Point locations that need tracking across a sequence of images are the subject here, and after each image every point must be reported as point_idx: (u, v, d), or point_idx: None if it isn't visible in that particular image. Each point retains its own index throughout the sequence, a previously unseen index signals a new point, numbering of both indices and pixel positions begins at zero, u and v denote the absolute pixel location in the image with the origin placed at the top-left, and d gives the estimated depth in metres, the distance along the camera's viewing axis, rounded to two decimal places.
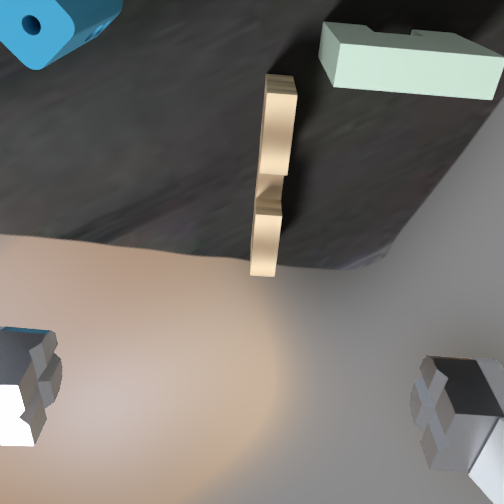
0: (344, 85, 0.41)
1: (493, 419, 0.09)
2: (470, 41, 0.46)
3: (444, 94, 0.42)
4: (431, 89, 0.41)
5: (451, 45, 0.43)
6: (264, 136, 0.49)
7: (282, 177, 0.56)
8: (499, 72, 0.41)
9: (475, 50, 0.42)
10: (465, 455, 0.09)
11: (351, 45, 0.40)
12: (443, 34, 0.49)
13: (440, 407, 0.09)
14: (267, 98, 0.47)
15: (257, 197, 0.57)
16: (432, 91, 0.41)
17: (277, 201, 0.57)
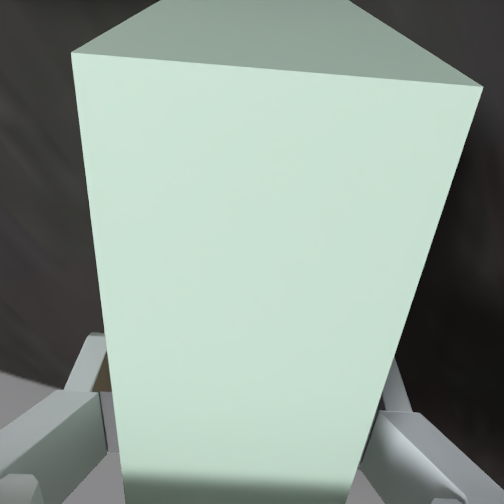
0: (104, 159, 0.04)
1: None
2: None
3: None
4: None
5: None
6: None
7: None
8: None
9: None
10: None
11: (442, 184, 0.05)
12: None
13: None
14: None
15: None
16: None
17: None
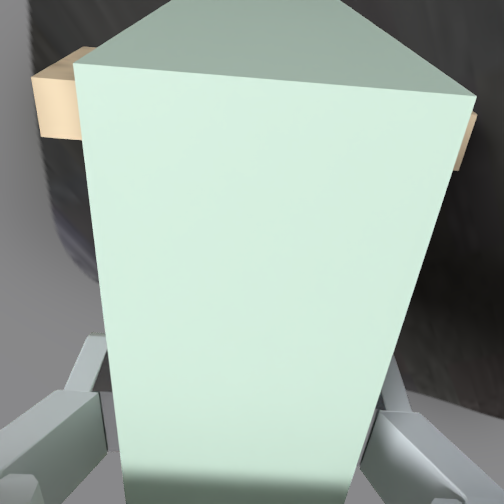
0: (105, 167, 0.05)
1: (374, 412, 0.09)
2: None
3: None
4: None
5: None
6: None
7: None
8: None
9: None
10: None
11: (437, 191, 0.05)
12: None
13: None
14: None
15: None
16: None
17: None
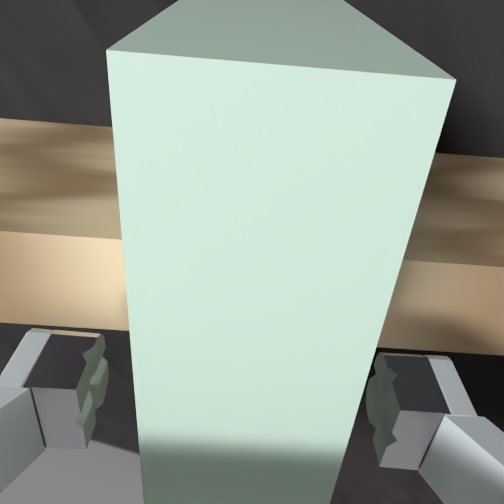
0: (131, 142, 0.05)
1: (438, 416, 0.09)
2: None
3: None
4: None
5: None
6: (503, 272, 0.12)
7: None
8: None
9: None
10: (414, 452, 0.09)
11: (423, 165, 0.05)
12: None
13: (388, 405, 0.09)
14: None
15: None
16: None
17: None
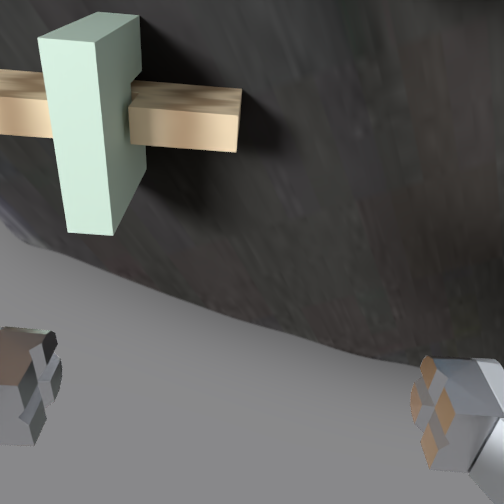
0: (42, 54, 0.30)
1: (493, 419, 0.09)
2: (135, 190, 0.44)
3: (61, 182, 0.35)
4: (64, 166, 0.34)
5: (123, 174, 0.39)
6: (181, 113, 0.37)
7: None
8: (97, 232, 0.37)
9: (119, 201, 0.38)
10: (465, 455, 0.09)
11: (94, 58, 0.30)
12: (141, 159, 0.46)
13: (440, 407, 0.09)
14: (231, 116, 0.37)
15: None
16: (62, 168, 0.34)
17: None
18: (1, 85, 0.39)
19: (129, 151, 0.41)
